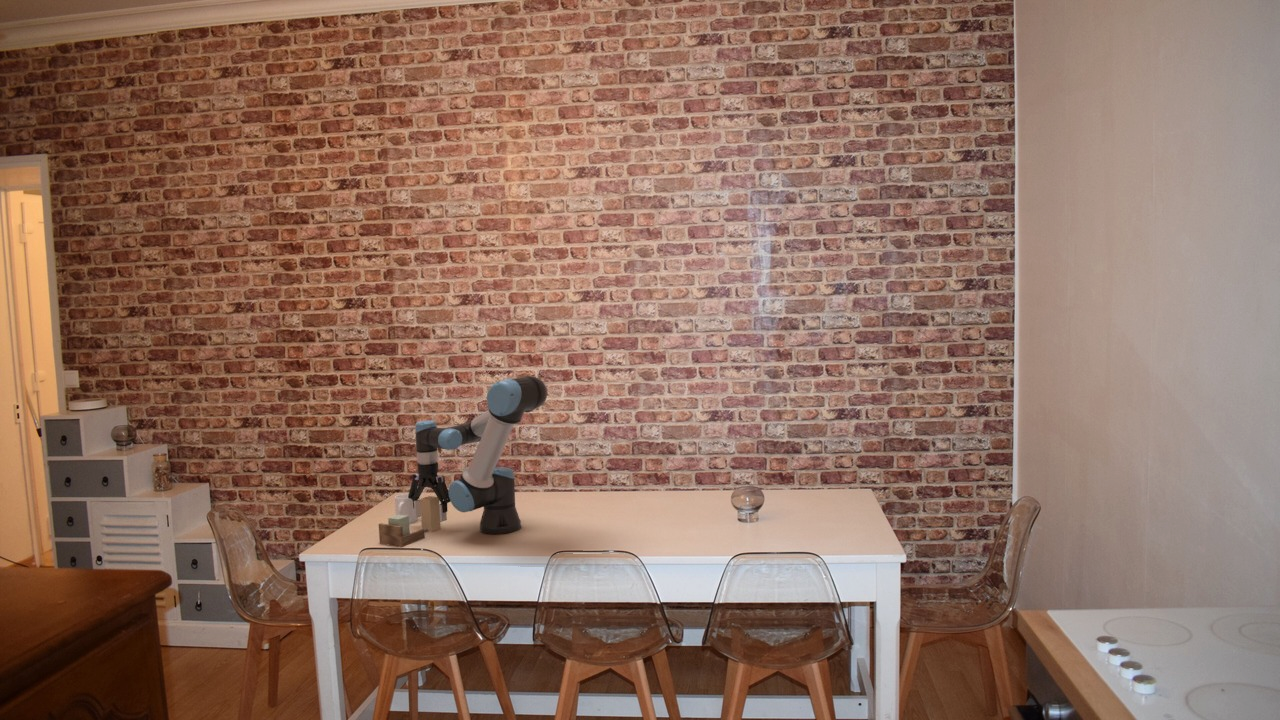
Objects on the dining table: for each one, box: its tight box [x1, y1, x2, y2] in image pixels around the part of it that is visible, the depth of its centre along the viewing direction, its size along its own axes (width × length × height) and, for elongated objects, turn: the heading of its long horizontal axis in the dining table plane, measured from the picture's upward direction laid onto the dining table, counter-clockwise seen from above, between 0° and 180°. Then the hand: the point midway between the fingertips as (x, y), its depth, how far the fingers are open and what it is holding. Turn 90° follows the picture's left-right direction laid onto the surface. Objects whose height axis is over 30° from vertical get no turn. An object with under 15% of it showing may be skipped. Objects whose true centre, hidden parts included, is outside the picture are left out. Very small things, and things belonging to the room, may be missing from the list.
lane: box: [378, 522, 425, 548], centre depth 297 cm, size 10×12×7 cm
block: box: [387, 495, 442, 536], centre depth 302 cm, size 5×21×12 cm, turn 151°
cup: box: [394, 492, 419, 525], centre depth 320 cm, size 8×12×10 cm
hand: (430, 519), depth 309 cm, fingers open, 12 cm apart
